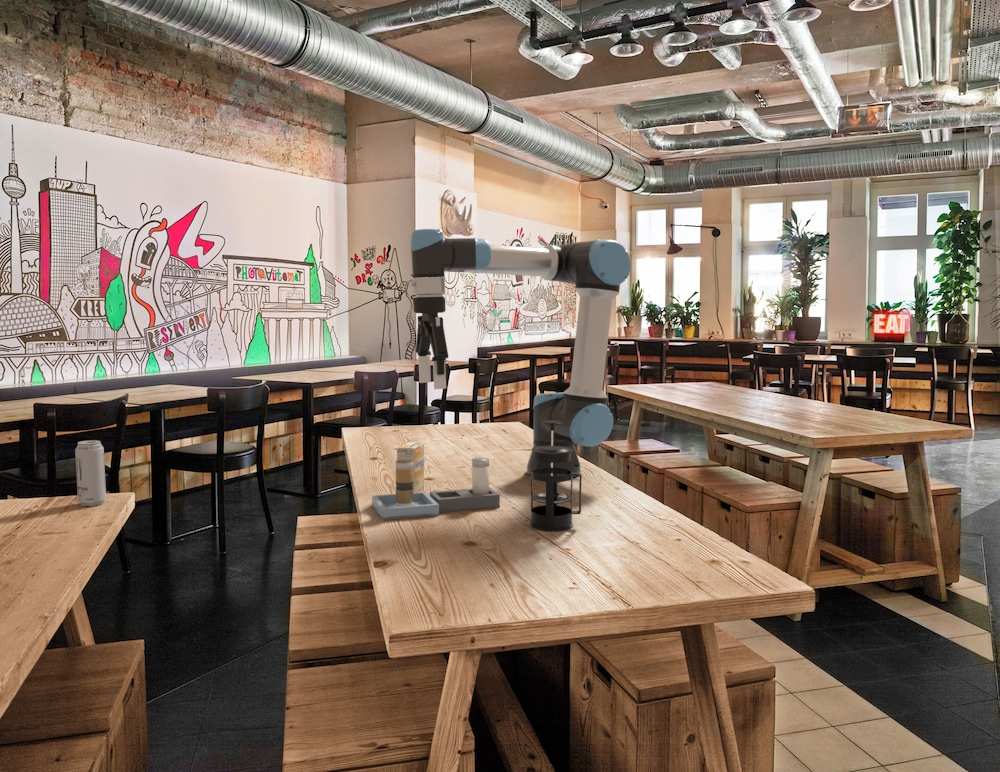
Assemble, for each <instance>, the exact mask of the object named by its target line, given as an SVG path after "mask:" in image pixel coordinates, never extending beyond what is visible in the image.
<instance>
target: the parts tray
mask: <svg viewBox="0 0 1000 772" xmlns="http://www.w3.org/2000/svg"><path fill="white" fill-rule="evenodd" d="M413 501H414V506H403V507H396V493H392V494H389V493H388V494H376V495H371V506H372V508H373V510H375V512H376V513H377V515H378V517H380V519H381V520H382V521H391V520H400V519H413V518H414V519H415V518H425V517H436V516H439V515H440V512H439V504H438V503H437V502H436V501H435V500H434V499H433V498H431V497H430V494H428V493H427V491H424V492H414V493H413Z"/></svg>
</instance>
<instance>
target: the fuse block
mask: <svg viewBox="0 0 1000 772" xmlns="http://www.w3.org/2000/svg"><path fill="white" fill-rule="evenodd" d="M429 496H430V497H431V498H433V499H434V500H435V501H436V502H437V503H438V504H439V513H446V512H458V511H470V510H481V509H494V508H500V507H501V505H500V504H501V503H500V501H501V500H500V499H501V497H500V493H498V492H497V491H496V490H494V489H493V488H491V487H490V486H489V494H483V495H473V494H472V488H464V489H463V488H462V489H461V488H460V489H450V490H449V489H447V490H436V491H435V490H434V491H429Z"/></svg>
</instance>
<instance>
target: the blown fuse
mask: <svg viewBox="0 0 1000 772" xmlns="http://www.w3.org/2000/svg"><path fill="white" fill-rule="evenodd" d="M395 494H396V507H403V506H414V501H413V461H412V460H398V461H397V460H395Z"/></svg>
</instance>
